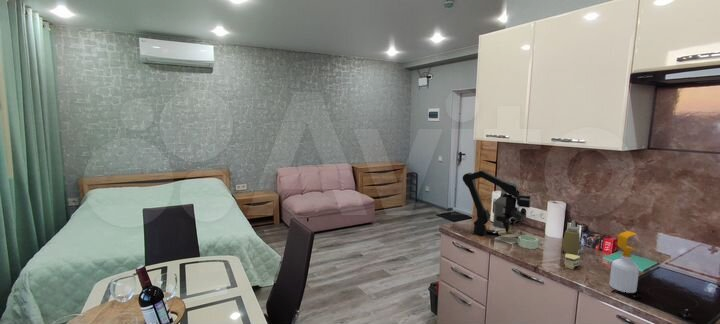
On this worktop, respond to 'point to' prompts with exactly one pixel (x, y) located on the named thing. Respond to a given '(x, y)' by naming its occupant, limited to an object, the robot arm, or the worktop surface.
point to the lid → (508, 233)
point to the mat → (507, 239)
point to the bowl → (528, 241)
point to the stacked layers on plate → (571, 260)
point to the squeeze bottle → (571, 239)
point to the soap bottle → (624, 267)
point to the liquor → (499, 209)
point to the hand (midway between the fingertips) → (508, 231)
